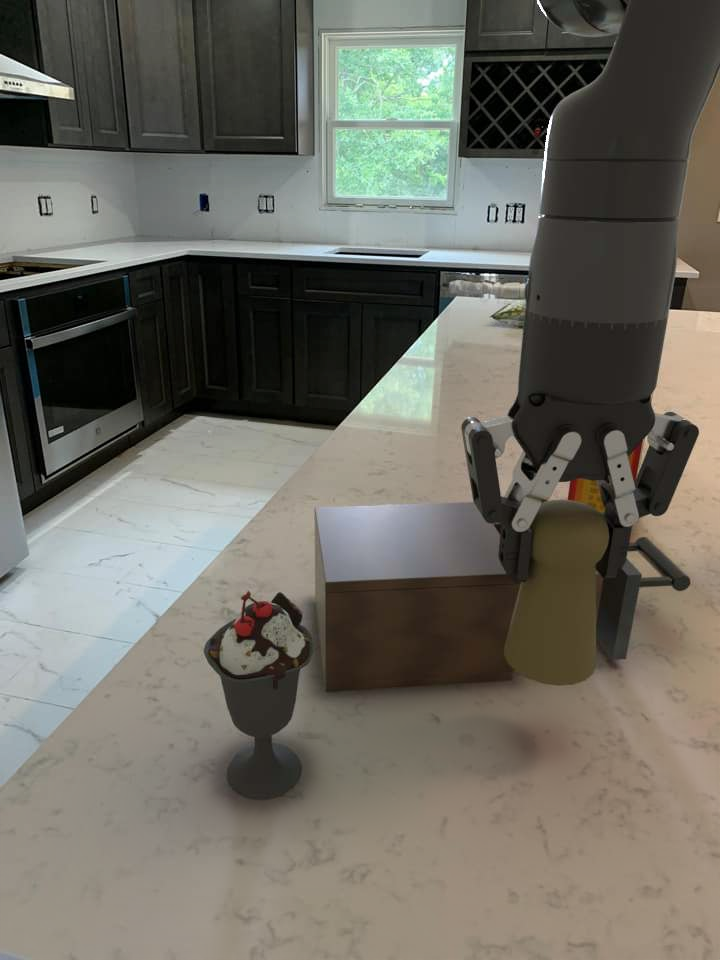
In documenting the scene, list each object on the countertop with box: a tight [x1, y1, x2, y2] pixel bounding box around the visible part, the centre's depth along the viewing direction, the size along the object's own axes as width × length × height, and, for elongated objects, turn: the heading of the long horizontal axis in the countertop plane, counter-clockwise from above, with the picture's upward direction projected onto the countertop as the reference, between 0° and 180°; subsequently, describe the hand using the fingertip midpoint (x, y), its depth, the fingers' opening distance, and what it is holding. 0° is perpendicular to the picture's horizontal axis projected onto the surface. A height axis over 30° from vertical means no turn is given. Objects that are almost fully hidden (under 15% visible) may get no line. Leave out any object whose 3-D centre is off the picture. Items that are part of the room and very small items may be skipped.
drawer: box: [493, 523, 691, 661], centre depth 62 cm, size 19×12×8 cm, turn 97°
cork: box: [504, 499, 609, 686], centre depth 47 cm, size 6×6×11 cm
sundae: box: [203, 590, 314, 801], centre depth 46 cm, size 7×7×15 cm
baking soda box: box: [567, 392, 654, 513], centre depth 81 cm, size 10×6×16 cm
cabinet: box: [314, 501, 521, 693], centre depth 61 cm, size 15×13×10 cm
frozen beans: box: [489, 298, 526, 327], centre depth 195 cm, size 21×6×25 cm
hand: (560, 572), depth 47 cm, fingers closed on cork, 5 cm apart
